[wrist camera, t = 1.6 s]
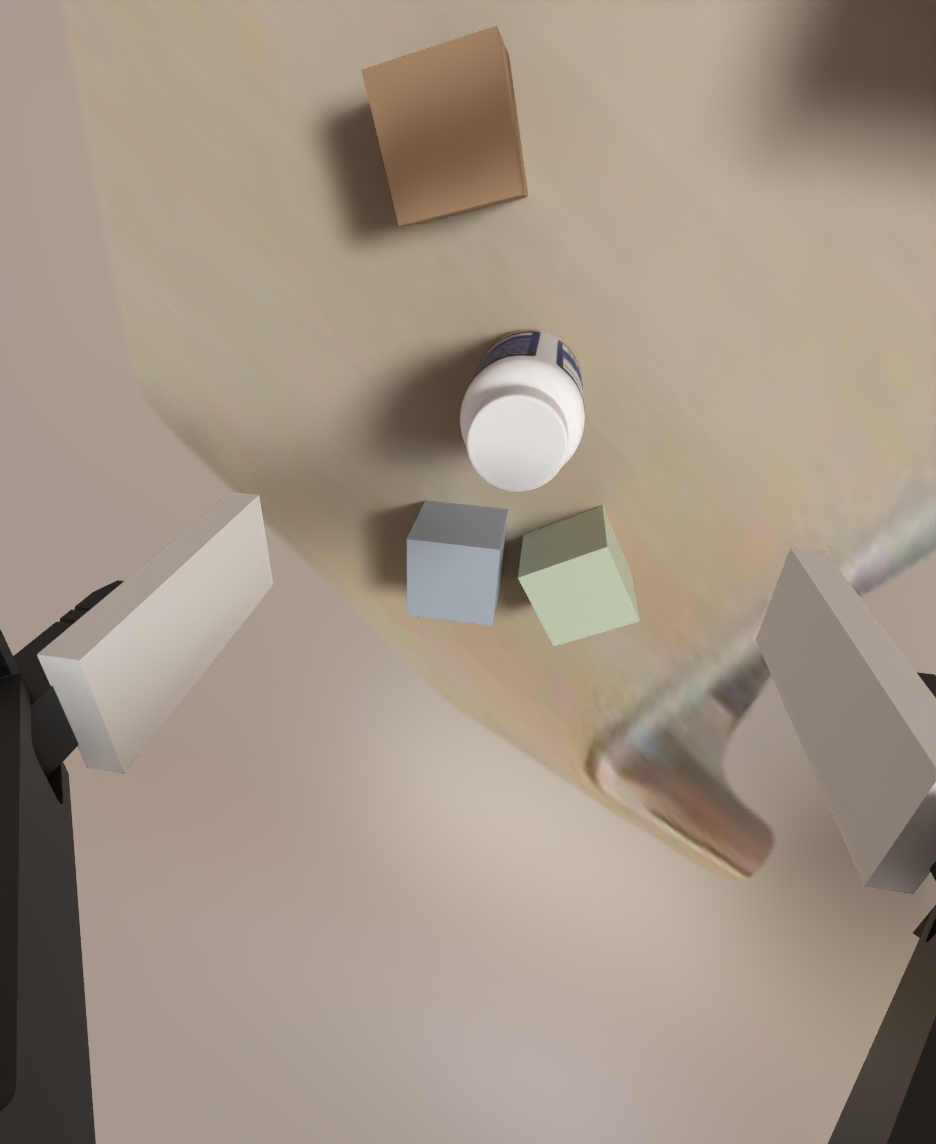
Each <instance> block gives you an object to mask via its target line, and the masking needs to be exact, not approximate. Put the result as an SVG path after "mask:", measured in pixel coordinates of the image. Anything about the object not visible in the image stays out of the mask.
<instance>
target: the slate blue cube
mask: <svg viewBox="0 0 936 1144" xmlns="http://www.w3.org/2000/svg"><path fill="white" fill-rule="evenodd" d="M507 514H508V509H500V508H491V507H481V506H472V505H463V504H454V503H444V502H435V501H426V500H425V502H424V504H423V507H422V509H421V511H420V513H419V515H418V517H417V519H416V521H415V523H414V525H413V527H412V529H411V531H410V533H409V536H408V538H407V615H413V616H421V617H429V618H436V619H444V620H452V621H460V622H468V623H476V624H484V625H491V626H493V623H494V617H495V612H496V606H497V601H498V595H499V589H500V584H501V577H502V566H503V556H504V545H505V535H506V524H507Z"/></svg>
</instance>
